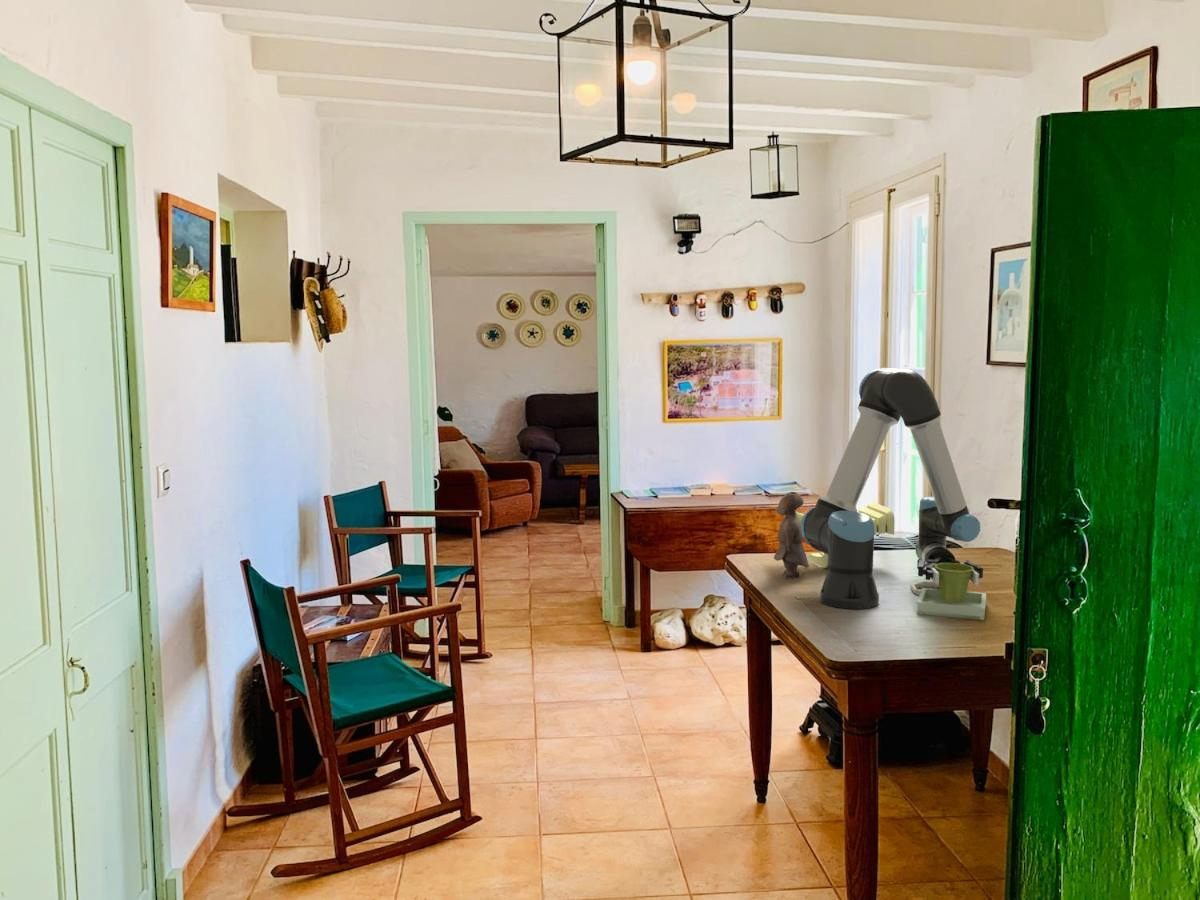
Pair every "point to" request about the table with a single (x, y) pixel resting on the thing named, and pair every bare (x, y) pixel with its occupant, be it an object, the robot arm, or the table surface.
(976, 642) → the table surface
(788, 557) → the clay figurine
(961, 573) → the plant pot
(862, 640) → the table surface
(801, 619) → the table surface
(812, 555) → the slatted curved stool
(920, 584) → the collar ring
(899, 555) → the table surface
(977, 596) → the tray
